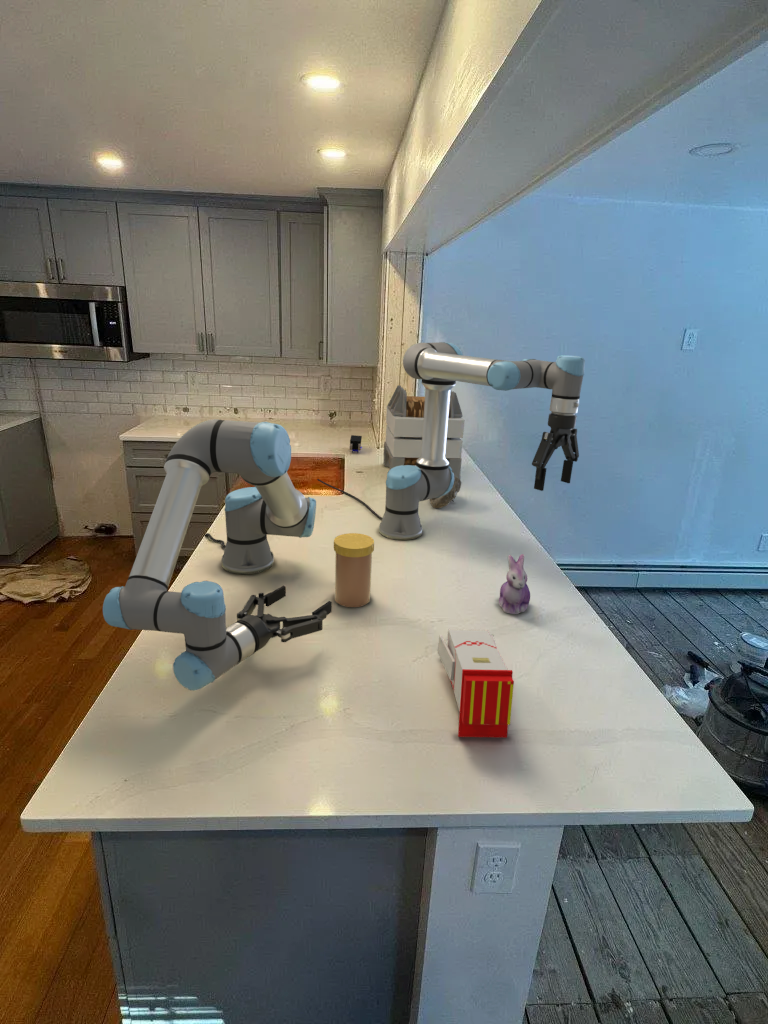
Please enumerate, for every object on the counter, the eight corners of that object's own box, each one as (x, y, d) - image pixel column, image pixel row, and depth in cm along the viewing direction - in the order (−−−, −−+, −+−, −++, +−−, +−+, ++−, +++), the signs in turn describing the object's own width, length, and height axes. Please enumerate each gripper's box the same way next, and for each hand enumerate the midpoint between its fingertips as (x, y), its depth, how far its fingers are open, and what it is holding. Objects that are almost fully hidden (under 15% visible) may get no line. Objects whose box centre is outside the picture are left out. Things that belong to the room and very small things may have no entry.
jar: (340, 609, 149) (341, 551, 143) (331, 592, 157) (331, 537, 151) (374, 604, 152) (377, 547, 146) (364, 588, 160) (366, 533, 154)
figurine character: (361, 456, 305) (361, 447, 319) (361, 443, 302) (362, 434, 315) (348, 456, 305) (350, 446, 318) (349, 442, 302) (350, 433, 315)
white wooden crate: (382, 463, 289) (386, 382, 275) (445, 464, 293) (451, 384, 279) (390, 482, 257) (394, 392, 243) (460, 483, 261) (468, 394, 247)
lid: (339, 559, 143) (339, 550, 142) (329, 543, 152) (329, 534, 152) (379, 555, 146) (379, 546, 146) (366, 539, 156) (367, 531, 155)
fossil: (425, 482, 245) (454, 464, 240) (438, 499, 248) (467, 481, 243) (424, 504, 225) (455, 484, 220) (438, 522, 228) (469, 503, 223)
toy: (488, 613, 130) (523, 677, 101) (484, 667, 133) (517, 744, 104) (435, 612, 130) (455, 676, 101) (432, 666, 133) (451, 743, 103)
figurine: (512, 619, 147) (519, 566, 142) (488, 601, 156) (494, 551, 151) (540, 611, 151) (548, 560, 146) (515, 594, 160) (522, 546, 155)
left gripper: (201, 635, 124) (267, 598, 141) (291, 674, 112) (350, 627, 130) (199, 605, 121) (266, 570, 139) (290, 641, 110) (351, 598, 127)
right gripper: (548, 419, 148) (537, 496, 155) (598, 411, 163) (586, 482, 171) (525, 414, 153) (515, 489, 160) (575, 407, 169) (564, 476, 176)
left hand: (307, 598), depth 134 cm, fingers open, 13 cm apart
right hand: (552, 485), depth 166 cm, fingers open, 13 cm apart
